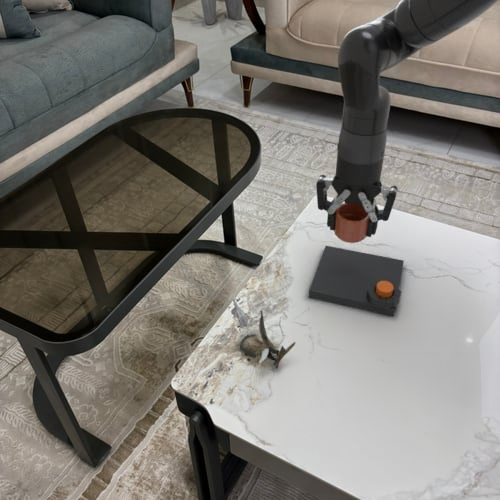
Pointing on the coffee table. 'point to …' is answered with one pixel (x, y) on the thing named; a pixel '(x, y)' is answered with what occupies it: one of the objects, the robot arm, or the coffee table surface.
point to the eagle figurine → (263, 346)
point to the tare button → (384, 289)
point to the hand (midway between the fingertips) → (350, 230)
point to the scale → (356, 280)
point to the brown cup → (351, 223)
